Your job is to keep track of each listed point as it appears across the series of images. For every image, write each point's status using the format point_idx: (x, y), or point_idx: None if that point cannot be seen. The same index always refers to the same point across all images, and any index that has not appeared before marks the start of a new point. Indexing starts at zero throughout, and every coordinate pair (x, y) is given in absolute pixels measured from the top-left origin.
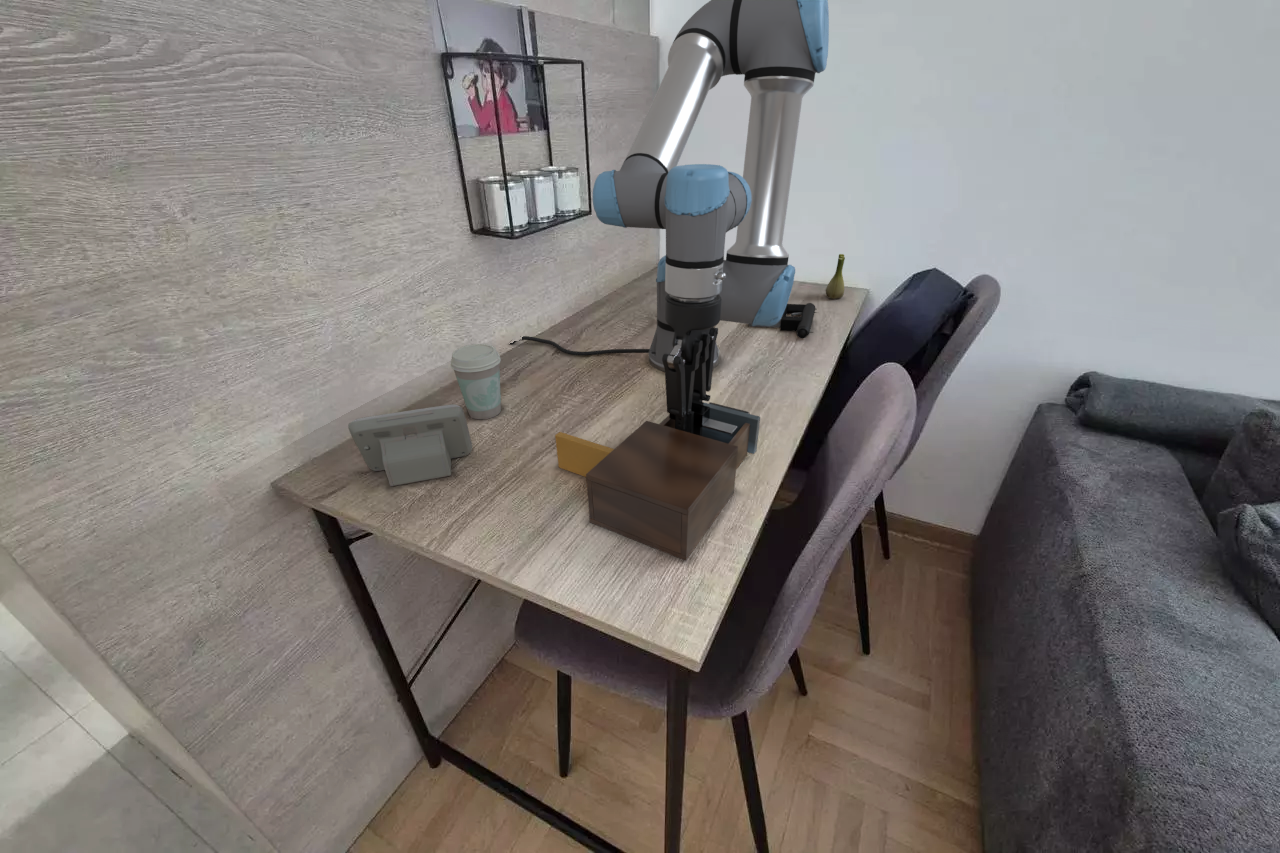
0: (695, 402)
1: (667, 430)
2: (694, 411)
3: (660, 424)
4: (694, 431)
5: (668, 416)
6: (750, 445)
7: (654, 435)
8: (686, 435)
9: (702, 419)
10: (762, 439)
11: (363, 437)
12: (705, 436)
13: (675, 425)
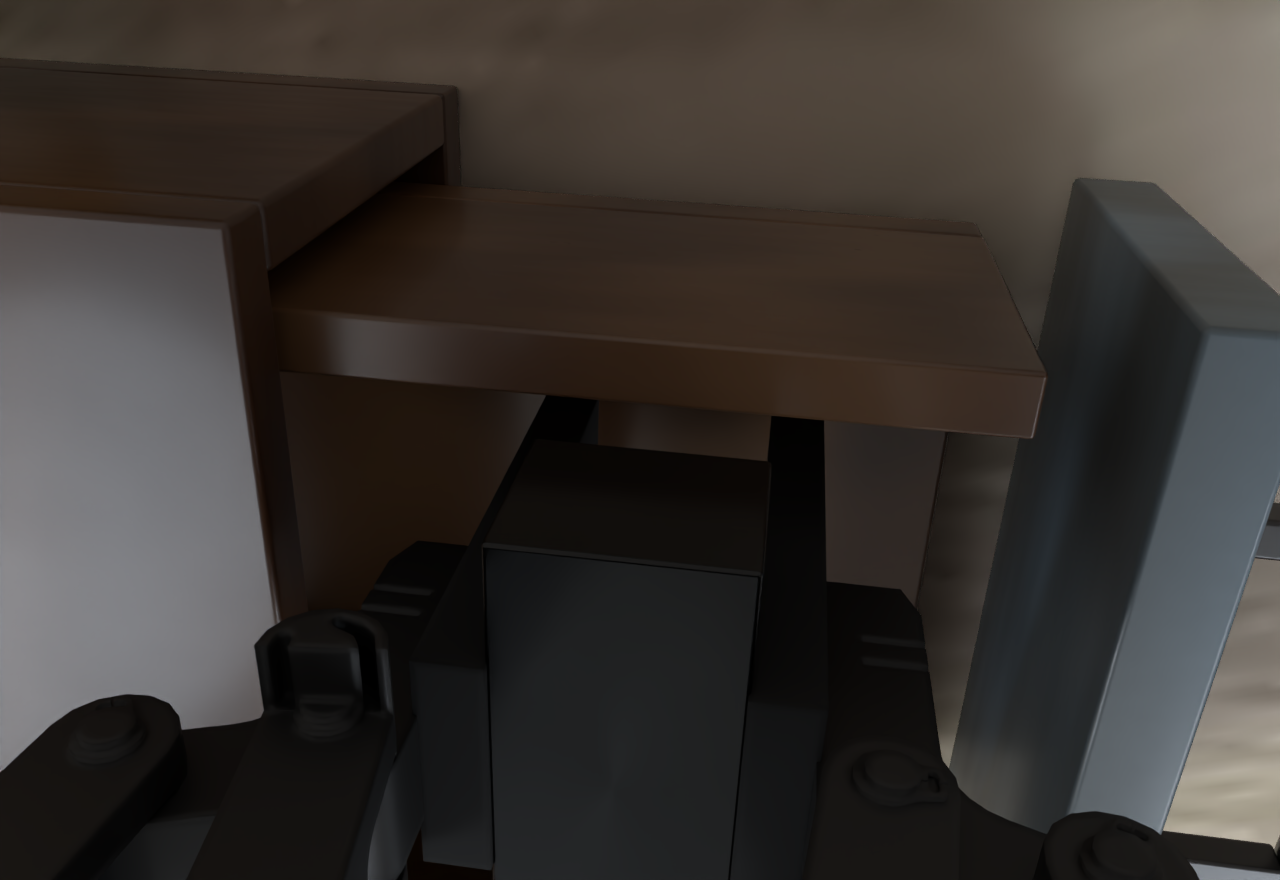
0: (746, 831)
1: (191, 563)
2: (512, 865)
3: (425, 341)
4: None
5: (665, 357)
6: None
7: (4, 471)
8: None
9: None
10: (1254, 813)
11: None
12: (1015, 494)
13: (482, 524)
